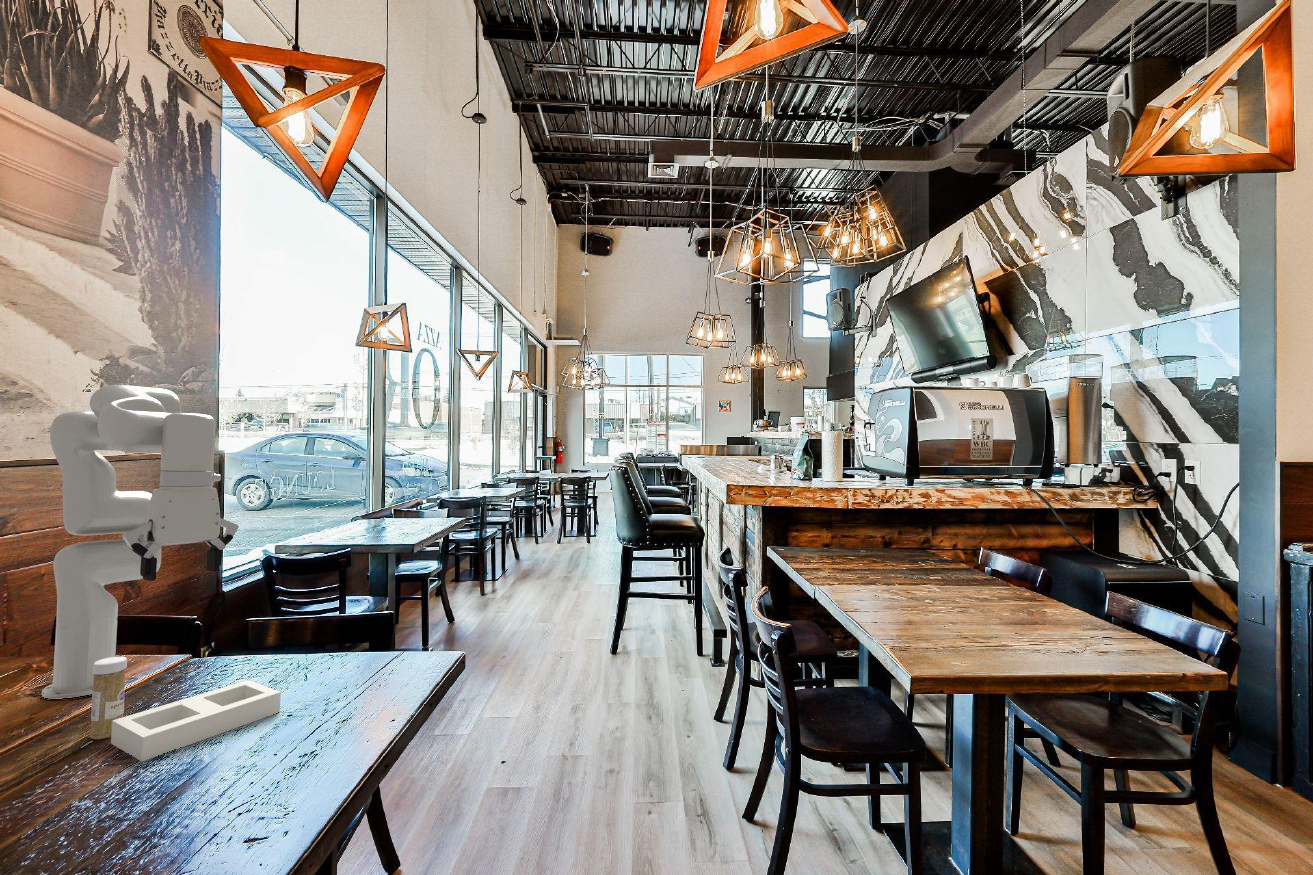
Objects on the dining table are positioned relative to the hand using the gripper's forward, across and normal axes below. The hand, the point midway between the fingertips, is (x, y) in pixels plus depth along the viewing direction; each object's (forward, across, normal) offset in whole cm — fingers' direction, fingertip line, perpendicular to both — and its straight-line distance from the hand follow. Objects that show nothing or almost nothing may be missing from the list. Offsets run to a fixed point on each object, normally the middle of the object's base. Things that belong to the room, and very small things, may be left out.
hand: (182, 575), depth 105 cm
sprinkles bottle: (+30, +5, -13) cm, 33 cm away
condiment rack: (+30, -5, -2) cm, 30 cm away
